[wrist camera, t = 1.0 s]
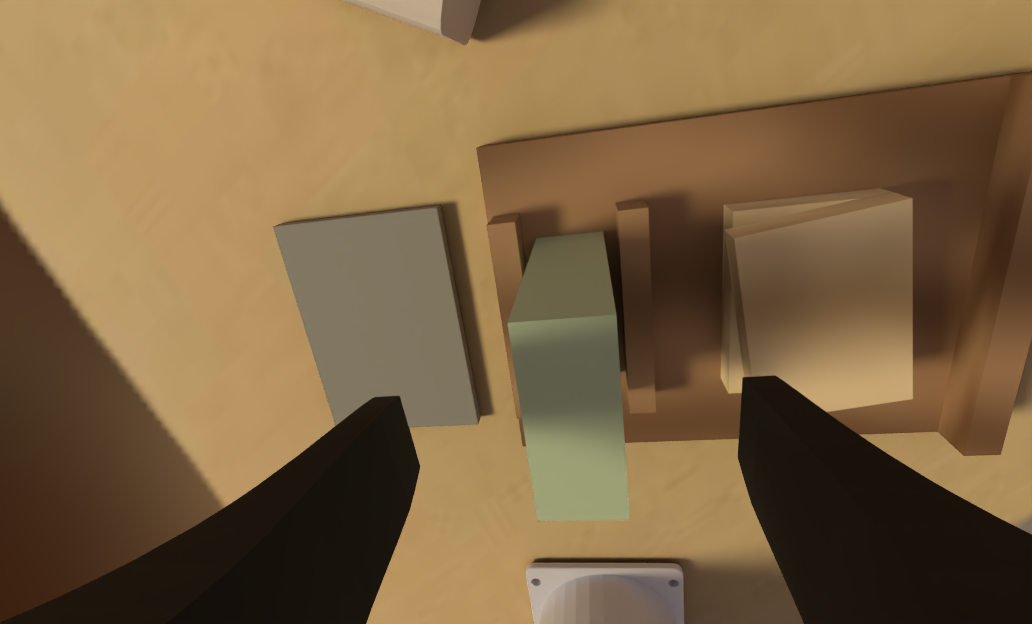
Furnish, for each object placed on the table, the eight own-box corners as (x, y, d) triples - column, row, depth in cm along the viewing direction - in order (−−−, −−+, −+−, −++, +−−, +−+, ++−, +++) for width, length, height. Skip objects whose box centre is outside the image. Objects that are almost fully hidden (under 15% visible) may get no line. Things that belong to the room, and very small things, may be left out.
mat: (480, 416, 24) (478, 424, 23) (342, 423, 25) (337, 430, 24) (440, 204, 20) (436, 207, 19) (280, 223, 21) (272, 226, 21)
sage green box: (612, 373, 21) (629, 520, 14) (552, 376, 21) (537, 521, 14) (603, 231, 19) (616, 314, 11) (536, 238, 19) (507, 322, 12)
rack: (954, 416, 21) (1000, 454, 19) (525, 433, 24) (519, 468, 21) (1029, 71, 16) (1104, 66, 14) (481, 146, 19) (467, 151, 17)
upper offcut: (893, 381, 18) (913, 399, 17) (747, 404, 19) (757, 422, 18) (889, 191, 16) (912, 198, 15) (724, 229, 17) (734, 238, 16)
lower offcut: (855, 370, 20) (872, 386, 18) (720, 377, 20) (728, 393, 19) (879, 188, 17) (900, 194, 16) (723, 204, 18) (733, 211, 17)
